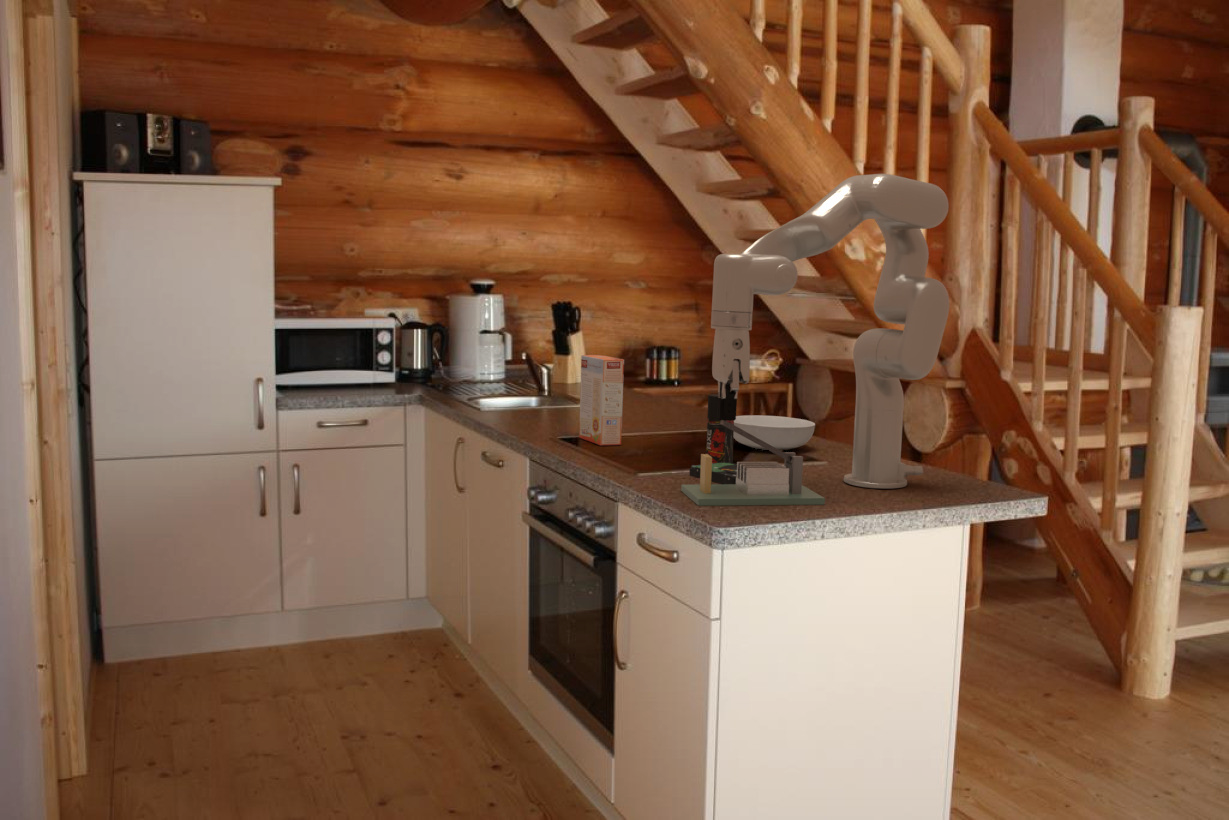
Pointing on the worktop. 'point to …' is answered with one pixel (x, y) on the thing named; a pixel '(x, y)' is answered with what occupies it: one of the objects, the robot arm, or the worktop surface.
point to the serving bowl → (774, 431)
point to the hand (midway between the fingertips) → (726, 419)
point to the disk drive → (718, 472)
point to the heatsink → (762, 478)
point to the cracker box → (601, 399)
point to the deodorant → (718, 434)
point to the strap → (757, 441)
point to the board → (732, 496)
